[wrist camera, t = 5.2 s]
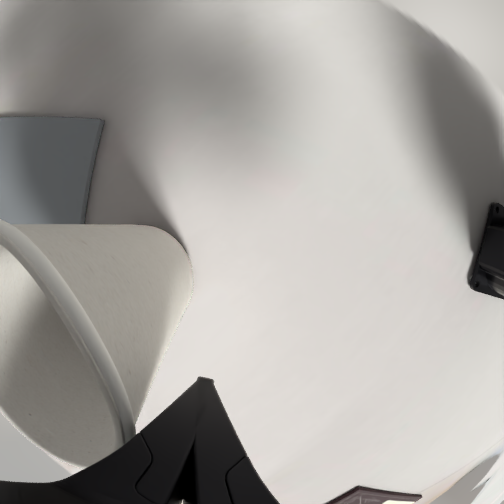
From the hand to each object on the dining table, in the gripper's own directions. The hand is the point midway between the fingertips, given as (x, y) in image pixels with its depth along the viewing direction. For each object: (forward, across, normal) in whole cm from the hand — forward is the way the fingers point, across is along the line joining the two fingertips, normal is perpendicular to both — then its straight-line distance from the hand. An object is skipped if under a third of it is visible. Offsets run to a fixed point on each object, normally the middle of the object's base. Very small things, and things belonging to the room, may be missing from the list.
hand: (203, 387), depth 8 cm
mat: (+8, +15, 0) cm, 17 cm away
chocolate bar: (+9, -24, +28) cm, 38 cm away
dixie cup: (+8, +4, 0) cm, 9 cm away
